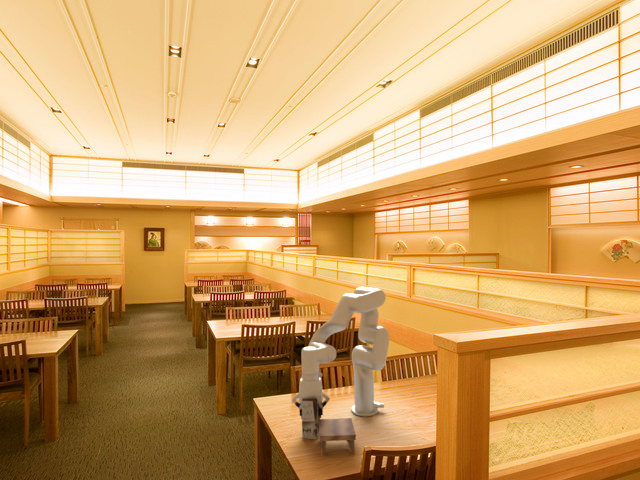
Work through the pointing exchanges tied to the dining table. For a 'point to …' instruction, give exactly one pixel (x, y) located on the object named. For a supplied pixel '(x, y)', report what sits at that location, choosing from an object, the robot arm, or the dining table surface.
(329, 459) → the dining table surface
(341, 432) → the stool
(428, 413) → the dining table surface
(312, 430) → the coffee box
